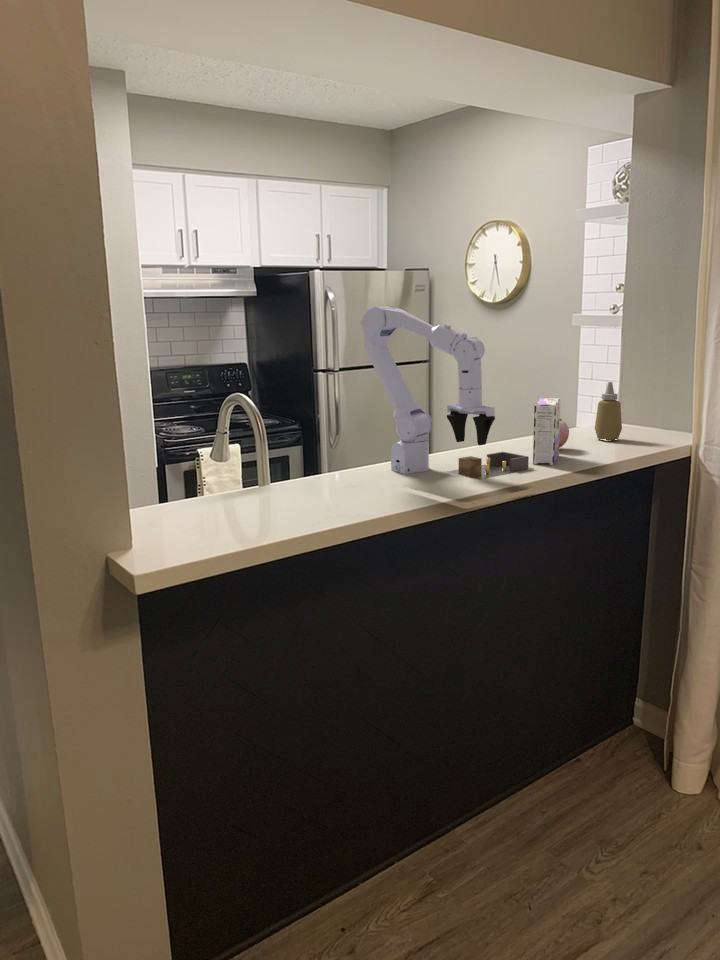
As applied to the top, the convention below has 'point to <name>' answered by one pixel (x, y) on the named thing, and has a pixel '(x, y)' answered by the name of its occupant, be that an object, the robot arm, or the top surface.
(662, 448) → the top surface
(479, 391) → the robot arm
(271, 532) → the top surface
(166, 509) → the top surface
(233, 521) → the top surface
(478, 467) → the walnut block
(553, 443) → the candy box
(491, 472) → the base plate
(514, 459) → the housing
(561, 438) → the decorative fruit
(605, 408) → the squeeze bottle
